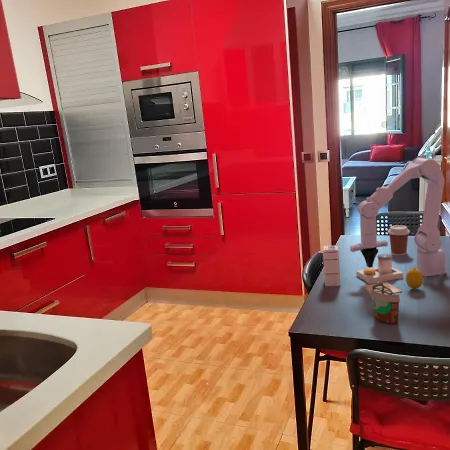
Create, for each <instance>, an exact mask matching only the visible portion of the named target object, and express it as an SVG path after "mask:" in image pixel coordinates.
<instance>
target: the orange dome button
mask: <svg viewBox="0 0 450 450" xmlns="http://www.w3.org/2000/svg"><path fill="white" fill-rule="evenodd" d="M375 272H376V270H375V269H369V268H364V273H366V275H374V273H375Z"/></svg>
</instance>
